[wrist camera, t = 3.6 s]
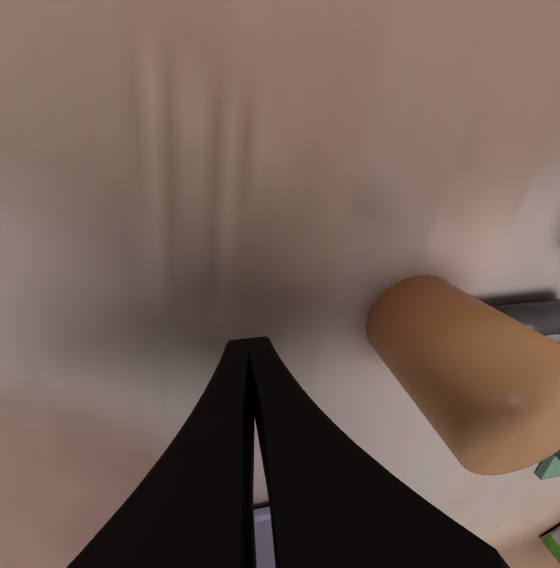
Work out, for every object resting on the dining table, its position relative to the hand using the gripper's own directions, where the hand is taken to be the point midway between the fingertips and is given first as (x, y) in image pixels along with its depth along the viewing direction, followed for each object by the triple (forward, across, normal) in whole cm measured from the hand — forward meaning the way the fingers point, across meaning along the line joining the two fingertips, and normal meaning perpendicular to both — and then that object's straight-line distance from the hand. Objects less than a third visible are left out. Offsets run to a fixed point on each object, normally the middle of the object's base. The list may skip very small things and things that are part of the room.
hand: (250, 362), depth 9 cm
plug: (+1, -9, 0) cm, 10 cm away
